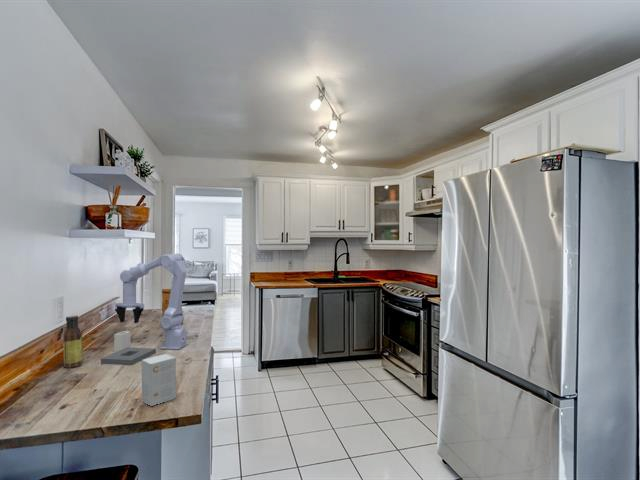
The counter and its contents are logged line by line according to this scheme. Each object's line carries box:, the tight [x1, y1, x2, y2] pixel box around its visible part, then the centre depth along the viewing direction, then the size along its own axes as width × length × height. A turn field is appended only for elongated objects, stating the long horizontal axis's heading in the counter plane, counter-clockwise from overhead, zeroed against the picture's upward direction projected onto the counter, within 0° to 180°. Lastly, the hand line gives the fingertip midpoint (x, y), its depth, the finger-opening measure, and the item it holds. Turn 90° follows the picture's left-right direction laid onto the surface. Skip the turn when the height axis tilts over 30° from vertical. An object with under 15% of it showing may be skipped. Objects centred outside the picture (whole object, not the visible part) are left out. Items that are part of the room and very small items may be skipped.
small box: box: [141, 353, 177, 407], centre depth 111 cm, size 8×6×13 cm
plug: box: [113, 330, 131, 353], centre depth 164 cm, size 4×6×8 cm
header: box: [100, 346, 157, 366], centre depth 152 cm, size 14×16×2 cm
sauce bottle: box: [62, 314, 84, 369], centre depth 143 cm, size 6×6×20 cm
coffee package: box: [161, 288, 183, 318], centre depth 215 cm, size 10×12×22 cm
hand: (129, 322), depth 175 cm, fingers open, 7 cm apart
